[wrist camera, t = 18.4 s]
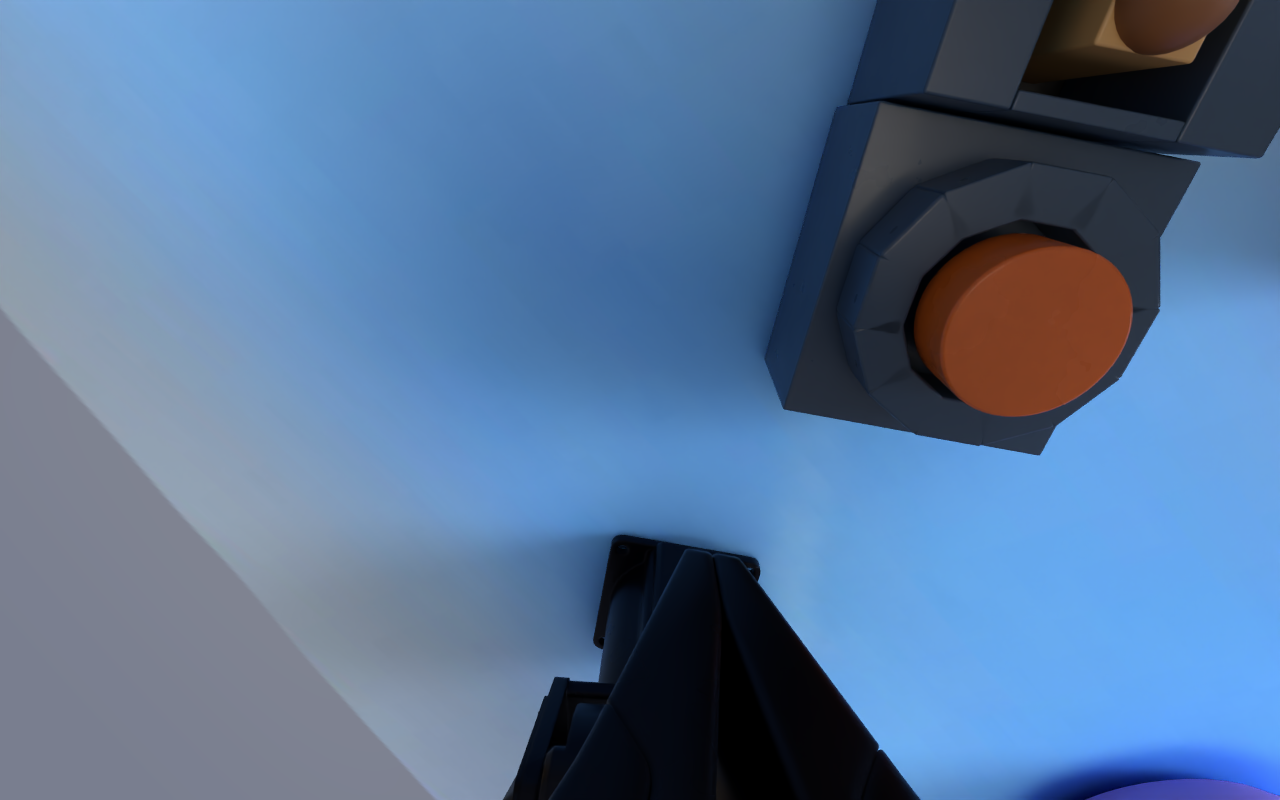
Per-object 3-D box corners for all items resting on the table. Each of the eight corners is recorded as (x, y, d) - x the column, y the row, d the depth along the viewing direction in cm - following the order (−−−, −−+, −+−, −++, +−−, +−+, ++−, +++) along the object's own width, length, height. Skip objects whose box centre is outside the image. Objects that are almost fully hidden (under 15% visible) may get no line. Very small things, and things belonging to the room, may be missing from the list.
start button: (1036, 400, 15) (1078, 431, 14) (889, 373, 15) (913, 401, 14) (1115, 249, 13) (1174, 264, 12) (950, 217, 13) (986, 229, 12)
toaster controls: (975, 398, 21) (1077, 489, 16) (763, 359, 21) (793, 439, 16) (1090, 155, 18) (1273, 167, 12) (836, 106, 17) (907, 96, 12)
